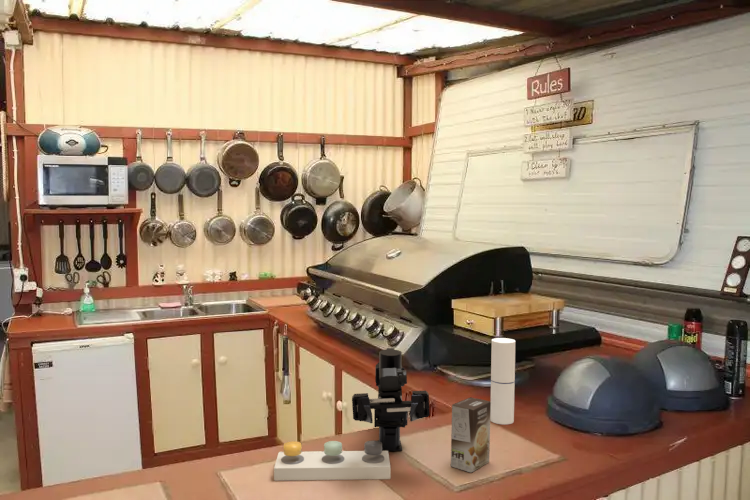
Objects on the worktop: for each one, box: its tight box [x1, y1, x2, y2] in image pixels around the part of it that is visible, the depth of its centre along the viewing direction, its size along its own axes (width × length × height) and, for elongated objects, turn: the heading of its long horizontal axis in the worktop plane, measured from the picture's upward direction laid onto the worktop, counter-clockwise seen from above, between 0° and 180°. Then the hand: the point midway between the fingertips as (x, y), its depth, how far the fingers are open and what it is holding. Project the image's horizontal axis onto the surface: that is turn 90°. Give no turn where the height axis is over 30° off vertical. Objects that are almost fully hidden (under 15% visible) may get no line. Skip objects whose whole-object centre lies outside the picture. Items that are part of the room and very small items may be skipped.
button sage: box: [323, 440, 343, 456], centre depth 154 cm, size 4×4×2 cm
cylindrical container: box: [490, 337, 516, 425], centre depth 190 cm, size 7×7×25 cm
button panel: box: [273, 450, 391, 482], centre depth 154 cm, size 10×28×3 cm, turn 92°
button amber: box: [283, 440, 303, 456], centre depth 153 cm, size 4×4×2 cm
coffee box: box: [450, 396, 491, 473], centre depth 158 cm, size 9×6×16 cm
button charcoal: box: [363, 440, 382, 455], centre depth 154 cm, size 4×4×2 cm
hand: (391, 420), depth 143 cm, fingers open, 9 cm apart
